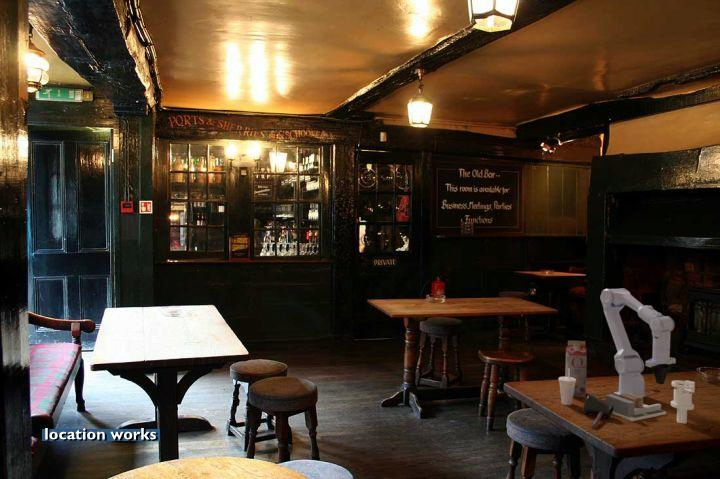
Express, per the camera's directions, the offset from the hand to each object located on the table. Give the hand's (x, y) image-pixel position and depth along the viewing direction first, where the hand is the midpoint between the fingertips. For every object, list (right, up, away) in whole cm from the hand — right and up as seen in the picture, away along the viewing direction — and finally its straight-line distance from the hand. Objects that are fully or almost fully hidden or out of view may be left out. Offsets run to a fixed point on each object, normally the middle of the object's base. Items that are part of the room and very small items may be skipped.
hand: (660, 383), depth 207 cm
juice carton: (-26, -9, +16) cm, 32 cm away
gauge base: (-12, -9, -4) cm, 16 cm away
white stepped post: (0, -10, -14) cm, 17 cm away
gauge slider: (-13, -8, -6) cm, 17 cm away
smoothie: (-34, -9, +4) cm, 35 cm away
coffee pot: (-31, -10, -13) cm, 35 cm away
